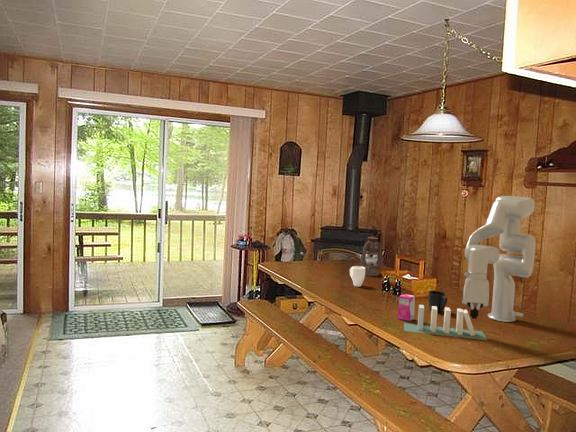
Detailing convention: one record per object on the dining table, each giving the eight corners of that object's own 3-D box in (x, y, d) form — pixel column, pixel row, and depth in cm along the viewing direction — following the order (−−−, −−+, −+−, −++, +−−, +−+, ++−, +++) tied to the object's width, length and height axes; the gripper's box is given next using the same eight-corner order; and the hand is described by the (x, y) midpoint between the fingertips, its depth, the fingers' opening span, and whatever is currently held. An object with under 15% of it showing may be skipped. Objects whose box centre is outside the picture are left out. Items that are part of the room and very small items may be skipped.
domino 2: (434, 328, 218) (436, 306, 217) (435, 332, 213) (437, 309, 212) (430, 327, 219) (431, 305, 218) (431, 331, 213) (432, 309, 213)
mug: (437, 315, 240) (438, 296, 239) (424, 309, 252) (425, 290, 251) (452, 315, 242) (453, 296, 242) (438, 308, 254) (439, 290, 253)
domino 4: (460, 331, 216) (461, 308, 215) (462, 334, 211) (463, 312, 210) (456, 330, 216) (457, 308, 216) (457, 334, 211) (458, 311, 210)
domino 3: (447, 329, 217) (449, 307, 216) (449, 333, 212) (450, 310, 211) (443, 329, 218) (444, 307, 217) (444, 333, 212) (445, 310, 211)
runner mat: (482, 332, 217) (482, 331, 217) (487, 340, 205) (487, 340, 205) (403, 323, 224) (403, 322, 224) (403, 331, 213) (404, 330, 213)
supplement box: (402, 317, 235) (404, 293, 234) (414, 319, 231) (415, 296, 230) (397, 319, 231) (398, 295, 230) (408, 322, 227) (410, 298, 226)
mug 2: (367, 286, 297) (368, 268, 296) (356, 287, 293) (357, 268, 292) (354, 282, 308) (356, 264, 307) (344, 283, 304) (345, 265, 303)
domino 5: (473, 330, 215) (466, 309, 215) (475, 334, 209) (468, 312, 209) (469, 332, 215) (461, 310, 215) (471, 335, 210) (463, 313, 210)
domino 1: (422, 326, 220) (423, 305, 219) (422, 330, 214) (424, 308, 213) (417, 326, 220) (419, 304, 219) (417, 330, 215) (419, 307, 214)
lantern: (356, 273, 337) (359, 222, 334) (375, 272, 344) (378, 222, 342) (365, 276, 328) (368, 224, 325) (385, 275, 335) (388, 224, 332)
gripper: (459, 276, 208) (456, 318, 210) (497, 279, 205) (493, 322, 206) (457, 273, 215) (454, 314, 217) (493, 276, 212) (490, 317, 214)
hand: (473, 318), depth 212 cm, fingers closed
